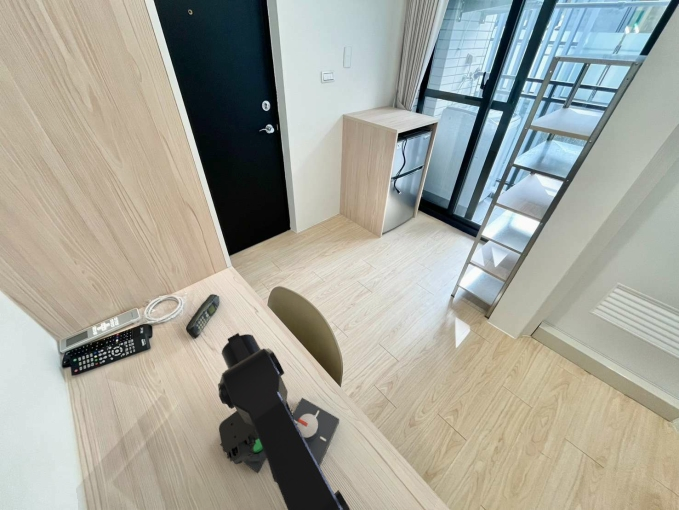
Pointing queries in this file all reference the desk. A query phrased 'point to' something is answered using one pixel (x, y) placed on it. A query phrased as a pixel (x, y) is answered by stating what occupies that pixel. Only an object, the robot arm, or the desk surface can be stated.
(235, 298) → the desk surface
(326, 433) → the dial panel
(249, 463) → the button block
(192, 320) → the mobile phone
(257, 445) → the button
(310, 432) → the program dial
